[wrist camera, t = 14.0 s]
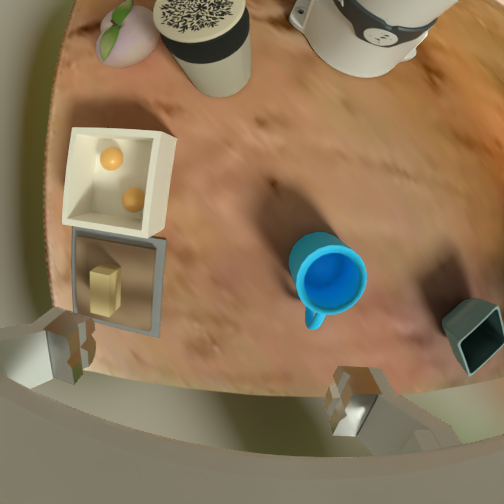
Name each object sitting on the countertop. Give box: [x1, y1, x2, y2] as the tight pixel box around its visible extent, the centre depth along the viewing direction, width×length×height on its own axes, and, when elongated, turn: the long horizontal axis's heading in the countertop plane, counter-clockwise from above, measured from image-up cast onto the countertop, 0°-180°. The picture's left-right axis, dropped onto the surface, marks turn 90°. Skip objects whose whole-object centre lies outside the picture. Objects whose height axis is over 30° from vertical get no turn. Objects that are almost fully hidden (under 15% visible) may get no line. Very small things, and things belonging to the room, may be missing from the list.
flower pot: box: [442, 298, 504, 376], centre depth 39 cm, size 9×9×9 cm
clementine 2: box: [122, 187, 145, 212], centre depth 38 cm, size 3×3×3 cm
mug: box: [289, 232, 367, 330], centre depth 38 cm, size 12×8×8 cm
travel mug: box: [153, 0, 251, 97], centre depth 27 cm, size 8×8×18 cm
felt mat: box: [72, 226, 167, 338], centre depth 42 cm, size 15×15×1 cm
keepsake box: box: [62, 127, 177, 239], centre depth 36 cm, size 12×12×7 cm
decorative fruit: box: [96, 0, 160, 68], centre depth 30 cm, size 9×8×10 cm
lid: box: [76, 235, 157, 332], centre depth 40 cm, size 12×12×5 cm
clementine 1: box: [100, 147, 123, 171], centre depth 36 cm, size 3×3×3 cm
